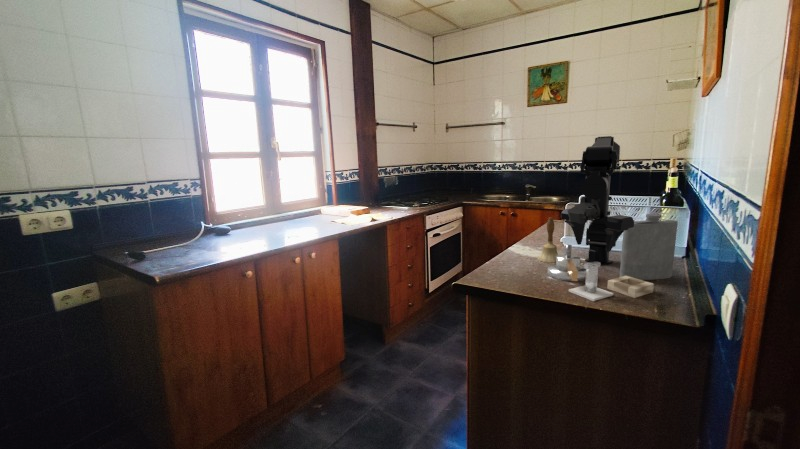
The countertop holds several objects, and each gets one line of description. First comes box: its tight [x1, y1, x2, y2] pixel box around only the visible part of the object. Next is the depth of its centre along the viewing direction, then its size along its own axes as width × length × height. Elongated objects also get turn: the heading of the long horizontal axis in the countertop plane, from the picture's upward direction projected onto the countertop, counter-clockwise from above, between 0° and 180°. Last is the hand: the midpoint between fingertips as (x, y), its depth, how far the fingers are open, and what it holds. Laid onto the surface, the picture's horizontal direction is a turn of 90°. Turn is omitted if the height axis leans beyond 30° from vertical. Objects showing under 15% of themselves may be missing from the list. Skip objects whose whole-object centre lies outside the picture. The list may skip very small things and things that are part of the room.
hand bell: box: [537, 217, 559, 264], centre depth 134 cm, size 8×8×16 cm
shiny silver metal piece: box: [583, 262, 601, 293], centre depth 102 cm, size 5×3×8 cm, turn 115°
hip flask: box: [619, 213, 679, 281], centre depth 111 cm, size 16×4×20 cm, turn 92°
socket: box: [606, 276, 655, 299], centre depth 104 cm, size 8×8×2 cm
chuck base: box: [547, 263, 586, 282], centre depth 118 cm, size 12×12×2 cm
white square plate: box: [568, 284, 614, 302], centre depth 103 cm, size 8×8×1 cm
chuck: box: [555, 243, 581, 282], centre depth 112 cm, size 18×7×8 cm, turn 163°
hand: (593, 247), depth 103 cm, fingers open, 9 cm apart
